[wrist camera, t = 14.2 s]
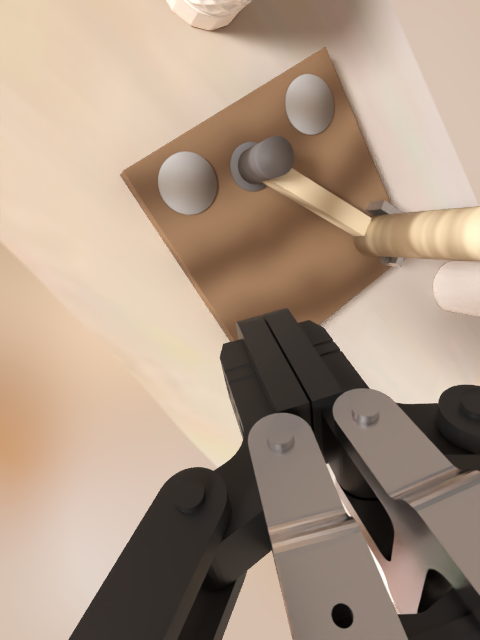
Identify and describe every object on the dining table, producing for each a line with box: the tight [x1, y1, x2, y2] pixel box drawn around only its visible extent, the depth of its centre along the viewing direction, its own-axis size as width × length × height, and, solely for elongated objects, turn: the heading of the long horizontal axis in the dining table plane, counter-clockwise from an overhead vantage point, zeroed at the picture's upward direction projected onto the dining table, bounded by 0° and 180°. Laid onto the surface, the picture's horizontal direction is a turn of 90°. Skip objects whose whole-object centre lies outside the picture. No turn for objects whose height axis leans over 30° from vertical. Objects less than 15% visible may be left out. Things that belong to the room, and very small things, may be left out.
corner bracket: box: [365, 200, 404, 267], centre depth 36 cm, size 4×4×2 cm
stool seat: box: [120, 47, 392, 342], centre depth 34 cm, size 19×19×2 cm
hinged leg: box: [238, 136, 480, 261], centre depth 28 cm, size 16×4×13 cm, turn 66°
